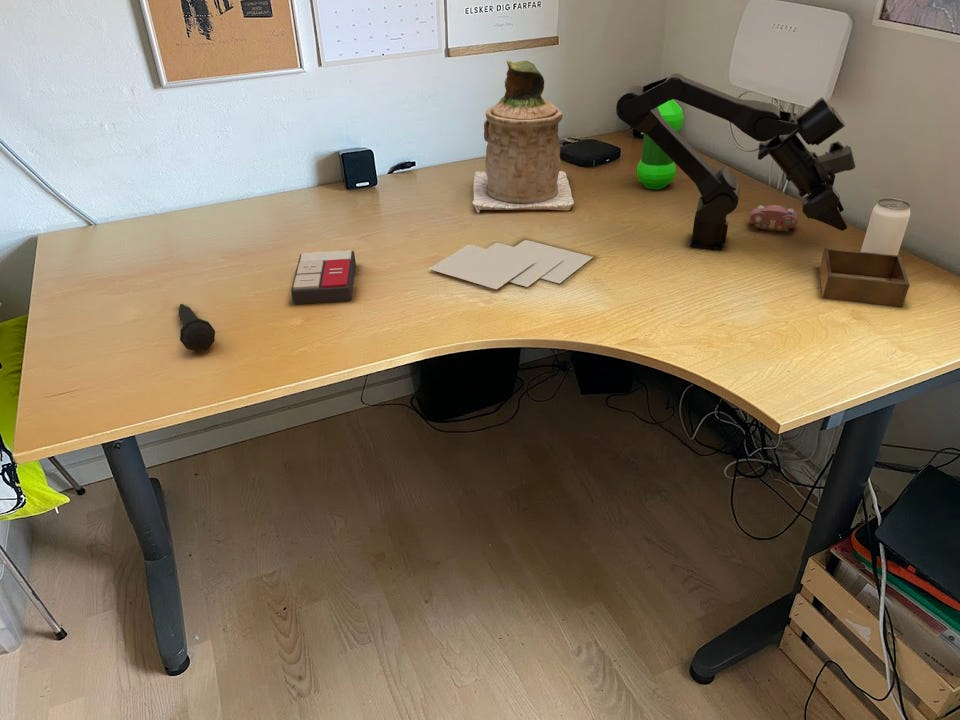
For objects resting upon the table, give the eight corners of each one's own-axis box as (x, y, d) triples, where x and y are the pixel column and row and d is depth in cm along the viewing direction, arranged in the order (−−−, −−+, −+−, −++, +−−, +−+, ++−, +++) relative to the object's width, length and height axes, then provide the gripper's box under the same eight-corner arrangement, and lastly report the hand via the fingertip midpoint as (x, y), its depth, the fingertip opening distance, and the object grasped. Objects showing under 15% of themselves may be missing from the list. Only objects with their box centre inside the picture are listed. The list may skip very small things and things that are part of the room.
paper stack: (493, 231, 161) (493, 228, 161) (593, 257, 149) (593, 254, 148) (428, 271, 146) (428, 268, 145) (533, 303, 133) (533, 300, 133)
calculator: (289, 287, 134) (299, 250, 146) (293, 307, 136) (303, 268, 149) (348, 284, 134) (353, 246, 146) (351, 303, 137) (356, 265, 149)
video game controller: (746, 233, 160) (750, 212, 154) (749, 218, 162) (753, 196, 156) (793, 239, 157) (799, 217, 151) (796, 223, 159) (802, 201, 153)
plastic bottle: (625, 186, 183) (634, 83, 169) (650, 175, 189) (660, 75, 175) (658, 196, 177) (670, 90, 163) (683, 184, 182) (696, 81, 169)
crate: (822, 297, 132) (828, 275, 130) (819, 268, 142) (824, 248, 139) (902, 307, 128) (909, 284, 126) (893, 277, 138) (900, 255, 135)
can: (902, 265, 142) (921, 207, 135) (873, 269, 141) (891, 211, 134) (880, 251, 147) (896, 195, 141) (852, 255, 146) (867, 199, 139)
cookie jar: (575, 211, 170) (582, 68, 152) (471, 214, 170) (466, 72, 153) (566, 176, 190) (571, 46, 173) (473, 178, 191) (469, 49, 173)
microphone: (177, 324, 137) (196, 362, 121) (159, 300, 134) (175, 336, 118) (203, 309, 138) (224, 344, 123) (185, 285, 135) (205, 318, 119)
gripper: (838, 147, 127) (889, 213, 130) (831, 119, 141) (877, 178, 144) (781, 187, 133) (831, 248, 136) (780, 155, 148) (826, 211, 151)
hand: (843, 220), depth 142 cm, fingers open, 9 cm apart
